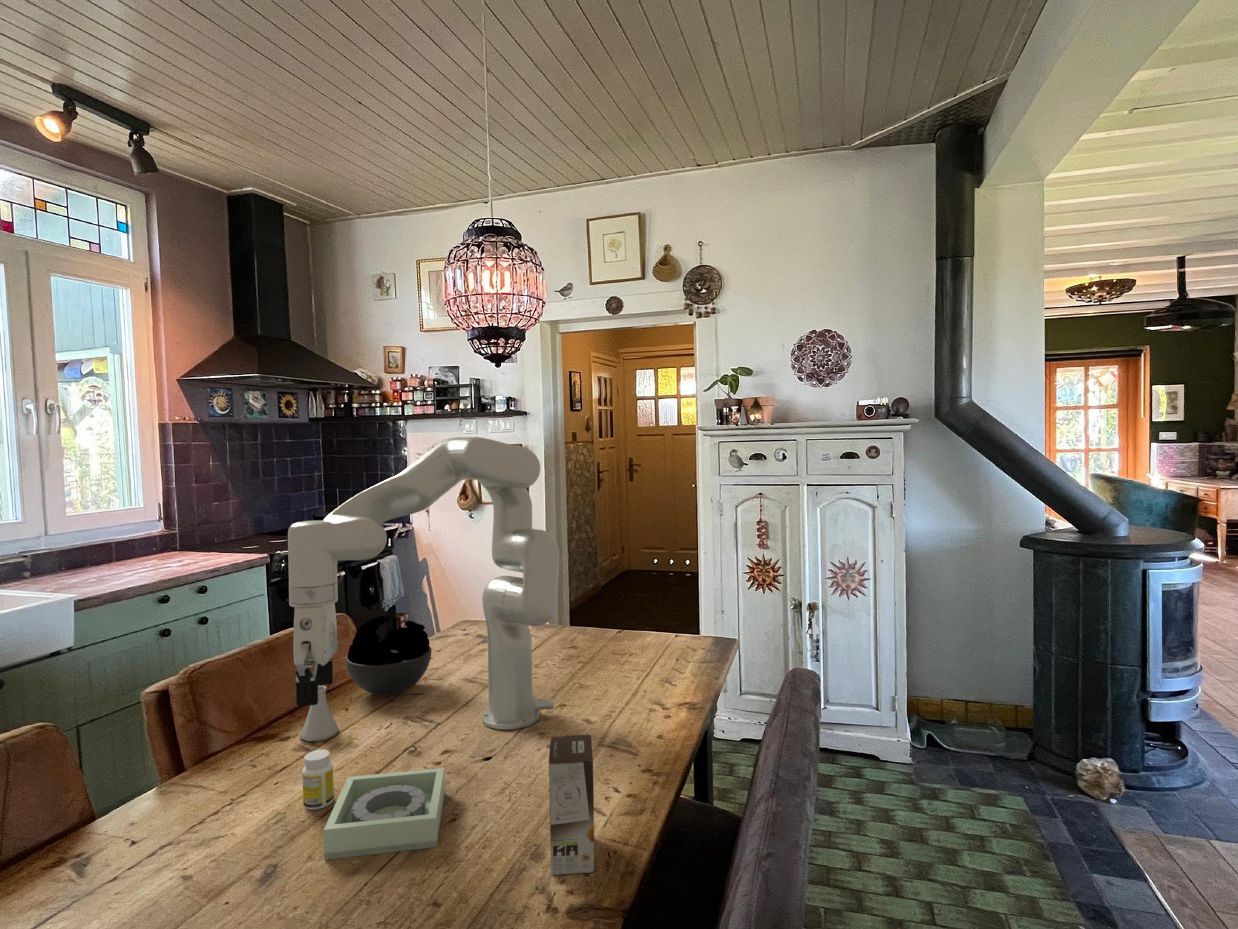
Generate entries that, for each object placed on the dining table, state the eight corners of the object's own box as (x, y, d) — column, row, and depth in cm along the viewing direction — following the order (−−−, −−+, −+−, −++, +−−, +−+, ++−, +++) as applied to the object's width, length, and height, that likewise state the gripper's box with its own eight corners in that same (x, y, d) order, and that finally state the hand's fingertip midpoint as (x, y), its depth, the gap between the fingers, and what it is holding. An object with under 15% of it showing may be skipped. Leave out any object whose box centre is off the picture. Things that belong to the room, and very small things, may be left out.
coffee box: (595, 873, 95) (594, 761, 95) (550, 876, 95) (548, 764, 94) (592, 835, 104) (591, 733, 104) (551, 838, 104) (549, 735, 103)
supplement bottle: (328, 793, 118) (326, 745, 118) (338, 803, 115) (336, 754, 115) (299, 803, 115) (297, 754, 115) (308, 814, 112) (307, 764, 111)
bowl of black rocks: (335, 691, 168) (333, 616, 167) (414, 673, 180) (412, 603, 179) (362, 716, 152) (359, 633, 151) (445, 694, 164) (444, 618, 164)
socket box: (444, 793, 118) (444, 767, 118) (436, 847, 102) (435, 817, 102) (348, 803, 115) (347, 777, 115) (324, 860, 99) (323, 830, 99)
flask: (324, 744, 138) (322, 695, 138) (292, 741, 140) (291, 693, 139) (345, 729, 145) (343, 683, 145) (315, 726, 147) (314, 681, 146)
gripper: (323, 604, 106) (325, 712, 107) (348, 583, 123) (350, 676, 124) (272, 607, 105) (275, 715, 105) (304, 584, 122) (306, 678, 123)
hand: (315, 694), depth 115 cm, fingers open, 9 cm apart
